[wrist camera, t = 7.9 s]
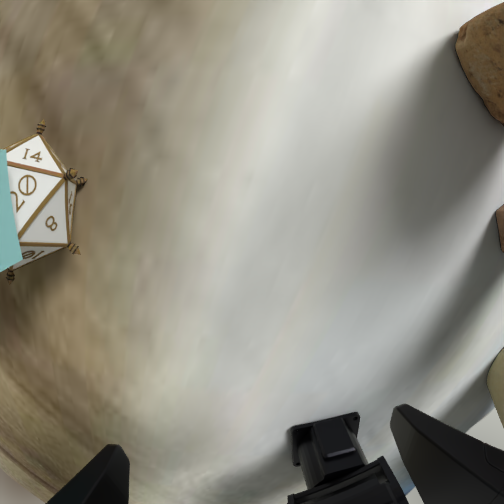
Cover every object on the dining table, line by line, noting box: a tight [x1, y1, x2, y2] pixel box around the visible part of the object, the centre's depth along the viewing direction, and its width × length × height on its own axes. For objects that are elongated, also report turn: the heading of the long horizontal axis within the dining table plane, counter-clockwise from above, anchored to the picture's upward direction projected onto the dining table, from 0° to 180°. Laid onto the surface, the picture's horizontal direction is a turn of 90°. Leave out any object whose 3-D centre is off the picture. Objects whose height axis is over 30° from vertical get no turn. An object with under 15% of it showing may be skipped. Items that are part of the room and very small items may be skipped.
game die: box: [2, 120, 87, 284], centre depth 14 cm, size 9×8×10 cm
